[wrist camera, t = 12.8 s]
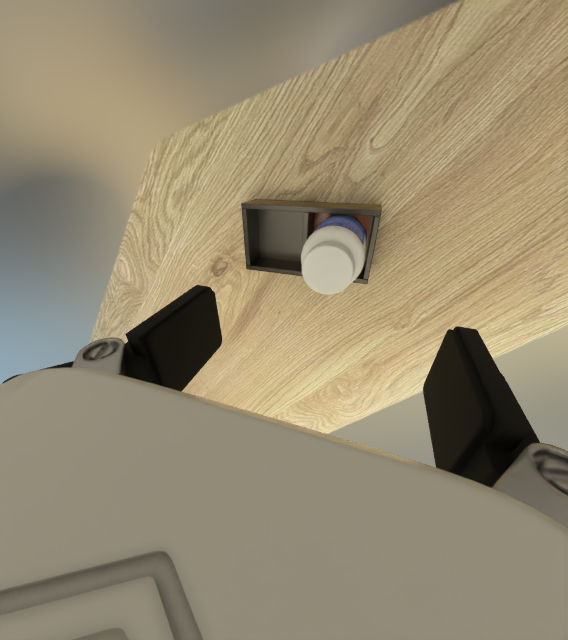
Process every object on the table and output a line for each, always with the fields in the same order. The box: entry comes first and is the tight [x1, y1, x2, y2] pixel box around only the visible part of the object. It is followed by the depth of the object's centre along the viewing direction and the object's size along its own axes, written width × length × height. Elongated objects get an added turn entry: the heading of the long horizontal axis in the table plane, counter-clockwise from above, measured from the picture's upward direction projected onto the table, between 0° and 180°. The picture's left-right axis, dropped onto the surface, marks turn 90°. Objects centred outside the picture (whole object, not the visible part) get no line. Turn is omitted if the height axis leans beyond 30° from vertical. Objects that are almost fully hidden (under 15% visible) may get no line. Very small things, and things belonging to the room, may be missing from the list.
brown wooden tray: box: [241, 199, 382, 284], centre depth 27 cm, size 7×14×4 cm, turn 90°
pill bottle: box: [301, 214, 367, 295], centre depth 23 cm, size 5×5×10 cm
